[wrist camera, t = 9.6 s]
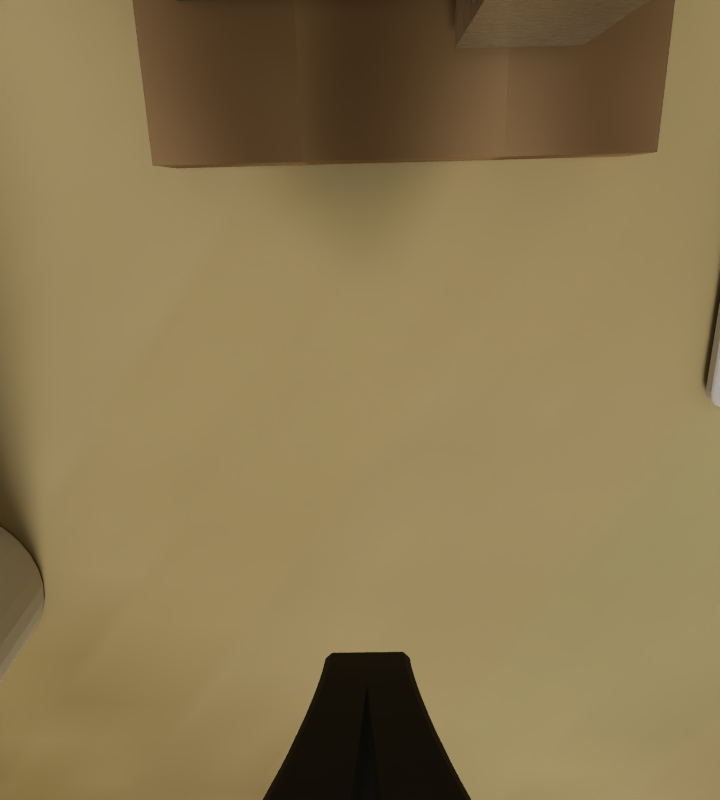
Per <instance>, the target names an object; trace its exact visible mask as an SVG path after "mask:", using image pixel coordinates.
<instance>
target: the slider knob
mask: <svg viewBox="0 0 720 800" xmlns="http://www.w3.org/2000/svg"><path fill="white" fill-rule="evenodd" d="M648 1H649V0H456V7H455V49H467V48H500V47H533V46H566V45H584V44H585V43H587V42H588V41H590V40H591V39H593V38H594V37H596V36H597V35H599V34H600V33H602V32H603V31H605V30H606V29H608V28H609V27H611V26H612V25H614V24H615V23H617V22H618V21H620V20H621V19H623V18H624V17H626V16H627V15H628V14H630V13H631V12H633V11H634V10H636V9H637V8H639V7H640V6H642V5H643V4H645V3H646V2H648Z"/></svg>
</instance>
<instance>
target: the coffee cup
mask: <svg viewBox="0 0 720 800" xmlns="http://www.w3.org/2000/svg"><path fill="white" fill-rule="evenodd" d="M43 604H44V591H43V583H42V579H41V576H40V573H39V570H38V568H37V566H36V564H35V562H34V561H33V559H32V557H31V555H30V554H29V553H28V551H27V550H26V549H25V548H24V547H23V545H22V544H21V543H20V542H19V541H18V540H17V539H16V538H15V537H13V536H12V535H11V534H10V533H9V532H8V531H7V530H5V529H3V528H2V527H0V684H1V682H2V681H3V679H4V678H5V676H6V674H7V673H8V671H9V670H10V668H11V667H12V665H13V663H14V662H15V660H16V659H17V657H18V655H19V654H20V652H21V651H22V649H23V648H24V646H25V644H26V643H27V641H28V639H29V638H30V636H31V635H32V633H33V631H34V630H35V628H36V626H37V624H38V621H39V619H40V617H41V614H42V610H43Z"/></svg>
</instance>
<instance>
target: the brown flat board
mask: <svg viewBox="0 0 720 800" xmlns="http://www.w3.org/2000/svg"><path fill="white" fill-rule="evenodd" d="M674 3H675V0H649V1H648V2H646V3H645V4H643V5H642V6H640V7H639V8H637V9H636V10H634V11H633V12H631V13H630V14H628V15H627V16H626V17H624V18H623V19H621V20H620V21H618V22H617V23H615V24H614V25H612V26H611V27H609V28H608V29H606V30H605V31H603V32H602V33H600V34H599V35H597V36H596V37H594V38H593V39H591V40H590V41H588V42H587V43H585V44H584V45H566V46H533V47H500V48H467V49H455V7H456V0H133V7H134V15H135V24H136V32H137V40H138V48H139V57H140V65H141V73H142V81H143V90H144V98H145V106H146V114H147V122H148V131H149V139H150V147H151V155H152V164H153V166H162V167H171V168H202V167H240V166H277V165H315V164H353V163H390V162H428V161H465V160H503V159H540V158H578V157H615V156H630V155H638V154H645V153H653V152H657V148H658V140H659V131H660V123H661V114H662V106H663V97H664V89H665V80H666V72H667V63H668V54H669V46H670V37H671V29H672V20H673V12H674Z"/></svg>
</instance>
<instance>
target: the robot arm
mask: <svg viewBox="0 0 720 800" xmlns="http://www.w3.org/2000/svg"><path fill="white" fill-rule="evenodd" d="M706 396H707V398H708V399H709V401H710V402H712V403H713V404H715V405H717V406H718V407H720V304H719V310H718V317H717V323H716V329H715V336H714V342H713V348H712V355H711V361H710V367H709V374H708V380H707V386H706ZM263 800H471V798H470V797H469V795H468V793H467V791H466V790H465V788H464V786H463V784H462V782H461V781H460V779H459V777H458V775H457V773H456V771H455V769H454V767H453V765H452V763H451V761H450V759H449V757H448V755H447V753H446V751H445V749H444V747H443V745H442V743H441V741H440V739H439V737H438V735H437V733H436V731H435V728H434V726H433V724H432V722H431V719H430V717H429V715H428V712H427V710H426V707H425V705H424V702H423V700H422V697H421V695H420V692H419V689H418V687H417V684H416V681H415V678H414V674H413V671H412V667H411V663H410V658H409V657H408V656H407V655H406V654H405V653H404V652H365V653H332V654H330V655H329V656H328V657H327V658H326V660H325V664H324V668H323V671H322V674H321V678H320V681H319V683H318V686H317V689H316V692H315V694H314V697H313V699H312V702H311V704H310V706H309V709H308V711H307V714H306V716H305V718H304V720H303V723H302V725H301V727H300V729H299V731H298V733H297V735H296V737H295V739H294V742H293V744H292V746H291V748H290V750H289V752H288V754H287V756H286V758H285V760H284V762H283V764H282V766H281V768H280V769H279V771H278V773H277V775H276V777H275V778H274V780H273V782H272V784H271V786H270V788H269V789H268V791H267V793H266V795H265V797H264V798H263Z"/></svg>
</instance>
